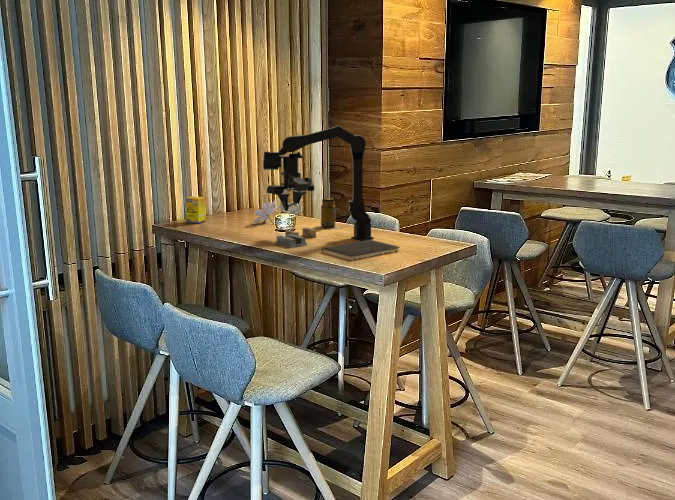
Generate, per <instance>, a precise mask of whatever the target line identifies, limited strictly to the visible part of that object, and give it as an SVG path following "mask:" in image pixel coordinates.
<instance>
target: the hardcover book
mask: <svg viewBox="0 0 675 500" xmlns="http://www.w3.org/2000/svg"><path fill="white" fill-rule="evenodd" d="M399 248H400V246H399V245H398V246H397V245H393V244H389V243H385V242H382V241H377V240H373V239H368V240H363V241H362V240H359V241H356V242H355V241H354V242H349V243H343V244H338V245H332V246H326V247H322V248H321V253H324V254H327V255H331V256H333V255H334V257H337V256H338V257H337V258H340V257H342V258H341V259H344V258H345V259H344V260H347V259H348V260H347V261H351V260H352V261H355V260H354V259H357V260H360V259H359V258H362V259H365V258H364V257H368V258H370V257H369V256H373V257H375V256H374V255H378V254H383V253H388V254H390V253H389V252H393V251H398V252H399ZM393 253H394V252H393ZM383 255H384V254H383ZM378 256H379V255H378Z"/></svg>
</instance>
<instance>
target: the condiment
mask: <svg viewBox="0 0 675 500" xmlns="http://www.w3.org/2000/svg"><path fill="white" fill-rule="evenodd" d="M335 200H336V199H335V198H332V197H325V198H322V199H321V203H322V204H321V207H320V215H321V216H320V225H317V227H318V228H322V229H327V230H333V229H340V228H342V226H339V225H336V209H337V208H336V205H335V204H336V203H335V202H336V201H335Z"/></svg>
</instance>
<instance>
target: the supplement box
mask: <svg viewBox="0 0 675 500" xmlns="http://www.w3.org/2000/svg"><path fill="white" fill-rule="evenodd" d="M205 202H206V200H205V197H204V196H192V195H191V196H189V197H186V198H185V212H186V213H185V215H186V217H185V219H186V224H196V225H200V224H202V223H205V222H206V210H205V208H206V206H205V204H206V203H205Z"/></svg>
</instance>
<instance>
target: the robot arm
mask: <svg viewBox="0 0 675 500" xmlns="http://www.w3.org/2000/svg"><path fill="white" fill-rule="evenodd" d="M334 138H339V139H341V140H342V141H344V142H345V143H347V144H349V147H350V153H351V157H352V199H348V205H349V206H348V207H349V208H348V210H347V211H348V213H349V214H350V216H351V218H352V219H353V220H354V221H353V222H354V224H353V236H351V239H354V240H358V241H366V240H373V239H375V236H372V223H371V222H372V219H371V217H370V215H369V213H367V210H366V207H365V206H366V205H365V202H364V196H363V195H364V194H363V193H364V192H363V190H364V189H363V186H364V185H363V184H364V183H363V175H364V174H363V172H364V171H363V168H364V167H363V159H364V154H365V150H366V144H367V143H366V140H365V138H364V137H363V136H362V135H360V134H354V133H351V132H350V131H348V130H347V129H344V128H343V127H342V126H341V125H335V126H334V127H330V128H327V129H323V130H319V131H315V132H312V133H308V134H304V135H303V134H302V135H301V134H300V135H289V136H286V137H285V138H284V140H283V141H282V147H281V149H279V150H278V152H275V151H264V152H263V161H262V165H263V167H262V168H263V170H264V171H269V170H270V171H277V170H278V171H279V170H280V168H282V171H281V173H280V174H281V176H282V177H283V180H282V181H283V182H281V184H280V185H279V184H271V185H267V187H266V193H267V194H269V195H271V194H272V195H277V197H278V199H279V200H280V203H282V205H283V207H284V209H285V211H288V202H289V196H290V193H288V192H290V191H291V193H292V201H293V202H292V203H295V204H299V205H300V202H301V199H302V197H303V196H304V195H305V194H307V192H311V191H312V192H314V191H315V185H314V183H312V178H311V177H308V176H307V177H304V178H302V174H301V172H299V159H303V158H304V155H303V154H301V152H300V151H299V150H300V149H303V148H305V147H306V146H308V145H312V144H316V143H319V142H322V141H326V140H330V139H334ZM296 151H297V152H296ZM294 152H296V153H294ZM287 153H288V155H286V154H287ZM282 163H283V164H282Z"/></svg>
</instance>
